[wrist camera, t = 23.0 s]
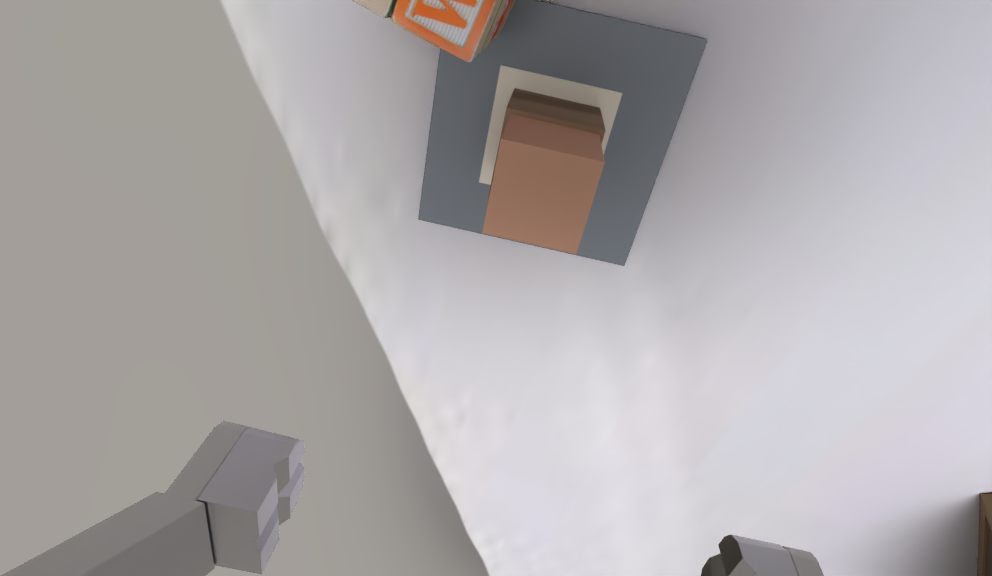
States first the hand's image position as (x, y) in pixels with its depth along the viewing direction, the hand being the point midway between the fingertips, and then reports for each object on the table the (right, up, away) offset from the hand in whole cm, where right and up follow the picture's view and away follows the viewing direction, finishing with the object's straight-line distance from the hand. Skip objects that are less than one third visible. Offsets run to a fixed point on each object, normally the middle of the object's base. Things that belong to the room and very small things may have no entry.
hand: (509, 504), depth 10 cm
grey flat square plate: (+3, +13, +22) cm, 26 cm away
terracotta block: (+2, +10, +17) cm, 20 cm away
